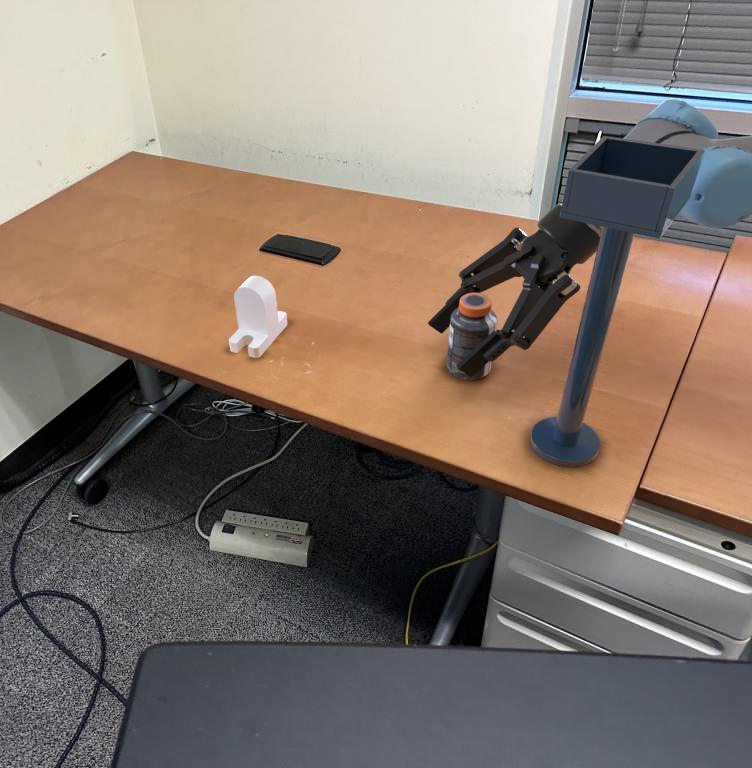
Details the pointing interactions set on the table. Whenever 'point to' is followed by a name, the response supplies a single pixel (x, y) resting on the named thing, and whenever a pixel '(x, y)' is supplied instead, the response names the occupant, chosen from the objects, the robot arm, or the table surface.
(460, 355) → the pill bottle
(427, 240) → the table surface
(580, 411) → the square tray stand
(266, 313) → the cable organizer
